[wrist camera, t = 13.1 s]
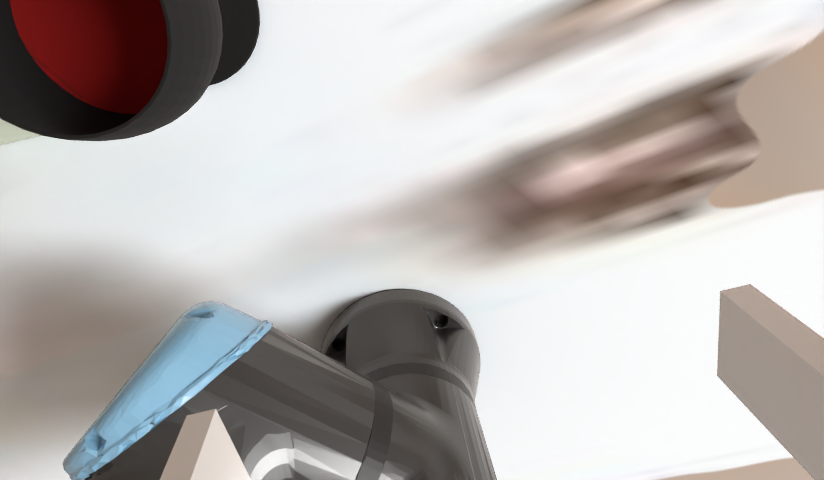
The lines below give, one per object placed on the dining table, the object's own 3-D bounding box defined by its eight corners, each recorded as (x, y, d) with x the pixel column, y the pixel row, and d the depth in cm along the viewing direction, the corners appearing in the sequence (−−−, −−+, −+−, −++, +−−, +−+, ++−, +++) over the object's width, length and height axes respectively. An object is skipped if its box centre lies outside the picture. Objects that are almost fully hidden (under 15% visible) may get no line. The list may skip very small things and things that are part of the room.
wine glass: (72, -6, 36) (-188, -10, 18) (183, -109, 35) (19, -225, 17) (187, 115, 41) (68, 208, 23) (291, 28, 39) (252, 53, 21)
